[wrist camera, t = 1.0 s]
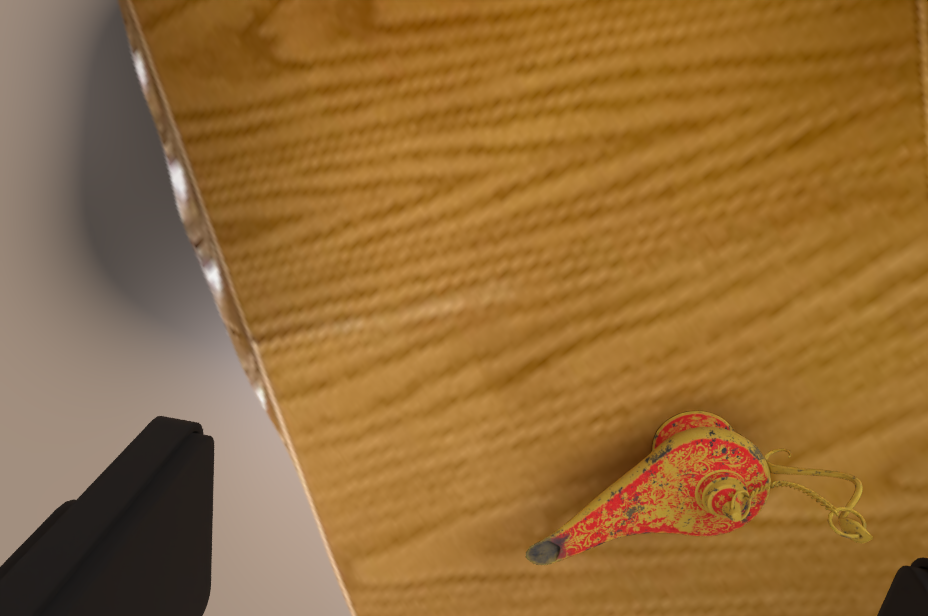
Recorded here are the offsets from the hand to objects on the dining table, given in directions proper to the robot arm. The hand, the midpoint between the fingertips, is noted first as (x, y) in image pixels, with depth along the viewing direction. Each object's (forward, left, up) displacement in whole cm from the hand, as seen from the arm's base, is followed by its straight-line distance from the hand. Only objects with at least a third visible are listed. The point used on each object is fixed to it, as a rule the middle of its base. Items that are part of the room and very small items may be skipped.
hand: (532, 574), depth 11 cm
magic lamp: (+20, 0, -34) cm, 40 cm away
